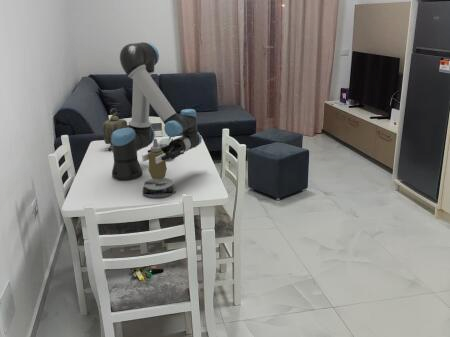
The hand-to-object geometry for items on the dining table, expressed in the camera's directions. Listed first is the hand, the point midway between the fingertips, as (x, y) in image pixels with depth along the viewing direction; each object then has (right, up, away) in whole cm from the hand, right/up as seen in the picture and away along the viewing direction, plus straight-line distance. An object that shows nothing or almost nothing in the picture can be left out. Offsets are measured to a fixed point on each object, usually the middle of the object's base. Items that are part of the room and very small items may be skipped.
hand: (149, 159), depth 188 cm
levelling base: (+3, -15, +10) cm, 18 cm away
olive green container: (-33, +8, +79) cm, 86 cm away
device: (-1, +5, +67) cm, 67 cm away
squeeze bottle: (+3, -8, +7) cm, 11 cm away
